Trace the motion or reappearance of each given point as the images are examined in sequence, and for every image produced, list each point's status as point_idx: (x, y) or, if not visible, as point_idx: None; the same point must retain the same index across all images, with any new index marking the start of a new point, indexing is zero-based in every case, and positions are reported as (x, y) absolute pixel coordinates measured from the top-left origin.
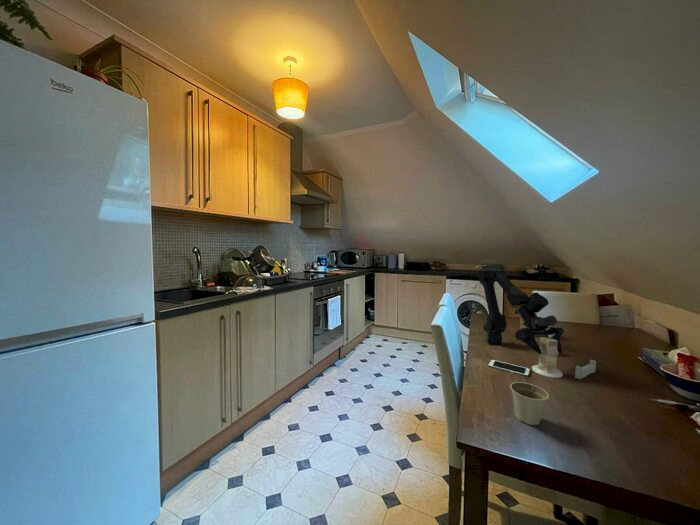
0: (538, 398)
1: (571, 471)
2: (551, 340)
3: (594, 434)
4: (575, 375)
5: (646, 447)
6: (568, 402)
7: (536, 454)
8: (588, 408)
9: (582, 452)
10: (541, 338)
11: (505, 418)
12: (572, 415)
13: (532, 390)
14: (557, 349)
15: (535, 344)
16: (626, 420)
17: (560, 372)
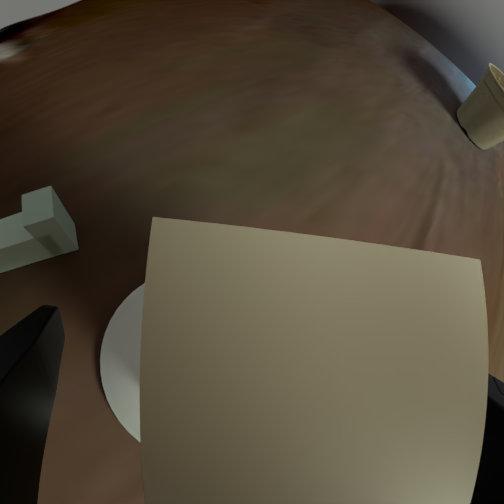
0: (485, 96)
1: (447, 59)
2: (404, 281)
3: (380, 48)
4: (74, 242)
5: (313, 3)
6: (354, 109)
7: (473, 89)
8: (315, 72)
9: (423, 54)
10: (466, 487)
11: (497, 149)
12: (385, 83)
13: (501, 103)
14: (51, 383)
15: (491, 379)
16: (257, 22)
17: (123, 317)
